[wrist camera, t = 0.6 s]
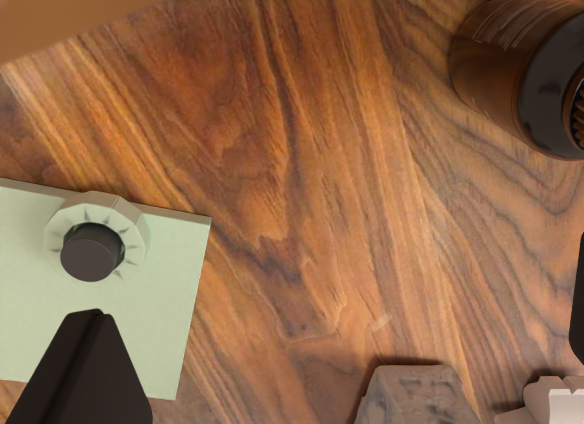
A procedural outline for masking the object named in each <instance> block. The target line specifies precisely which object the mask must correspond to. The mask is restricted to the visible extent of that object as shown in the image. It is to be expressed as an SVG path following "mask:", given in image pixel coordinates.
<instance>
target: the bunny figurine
mask: <svg viewBox="0 0 584 424" xmlns="http://www.w3.org/2000/svg"><path fill="white" fill-rule="evenodd" d="M523 399H524V402H525V405H526V407H523V408H520V409H516V410H513V411H509V412H505V413H501V414H497V415H496V417H495V419H494V423H495V424H584V376H566V377H565V378H564V379H563V380H561V379H560V378H559V377H558V376H540V378H539V381H538V382H536V383H530V384H528V385H527V386H526V387H525V388H524V389H523Z"/></svg>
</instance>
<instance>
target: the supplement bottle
mask: <svg viewBox="0 0 584 424" xmlns="http://www.w3.org/2000/svg"><path fill="white" fill-rule="evenodd" d="M450 76H451V80H452V84H453V86H454V89H455V91H456V92H457V94H458V95H459V97H460V98H461V99H462V100H463V101H464V102H465V103H466V104H467V105H468V106H469V107H471V108H472V109H474V110H475V111H476V112H478V113H479V114H481V115H482V116H484V117H485V118H487V119H488V120H490V121H491V122H493V123H494V124H496V125H497V126H499V127H501V128H502V129H504V130H505V131H507V132H508V133H510V134H511V135H513V136H514V137H516V138H517V139H519V140H520V141H522V142H523V143H525V144H526V145H528V146H529V147H531V148H532V149H534V150H535V151H537V152H539V153H541V154H543V155H545V156H547V157H550V158H553V159H557V160H564V161H582V160H584V0H490V1H488V2H487V3H485V4H484V5H482V6H481V7H479V8H478V9H477V10H476V11H475V12H474V13H473V14H472V15H471V16H470V17H469V18H468V19H467V20H466V22H465V23H464V24H463V26H462V27H461V29H460V31H459V32H458V34H457V36H456V38H455V41H454V44H453V47H452V50H451V55H450Z"/></svg>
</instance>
